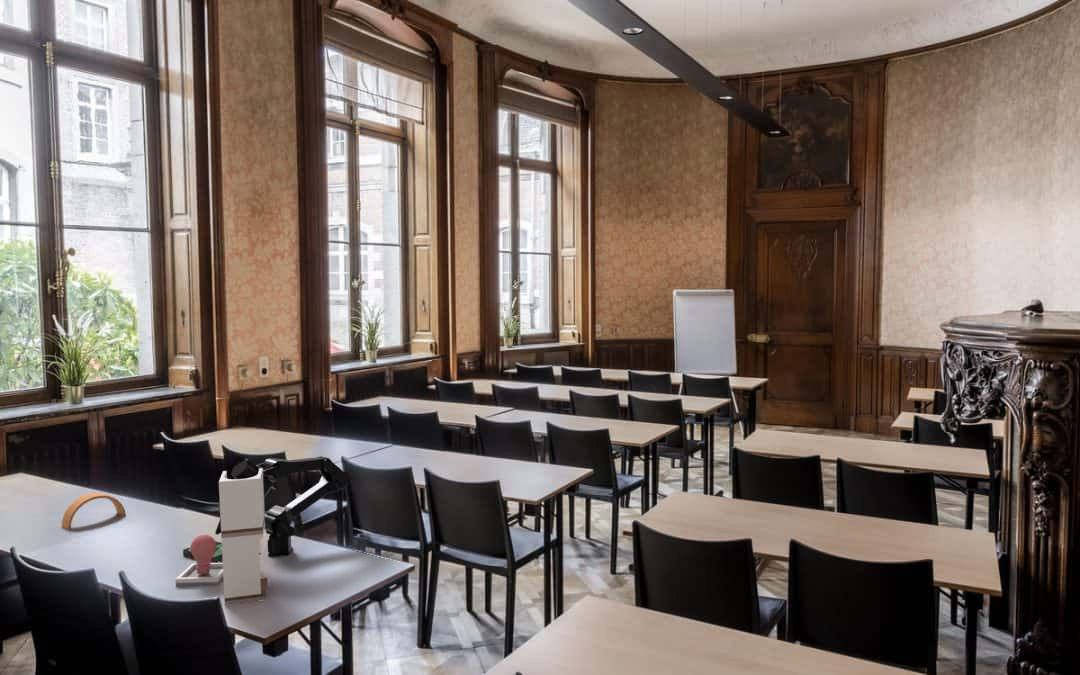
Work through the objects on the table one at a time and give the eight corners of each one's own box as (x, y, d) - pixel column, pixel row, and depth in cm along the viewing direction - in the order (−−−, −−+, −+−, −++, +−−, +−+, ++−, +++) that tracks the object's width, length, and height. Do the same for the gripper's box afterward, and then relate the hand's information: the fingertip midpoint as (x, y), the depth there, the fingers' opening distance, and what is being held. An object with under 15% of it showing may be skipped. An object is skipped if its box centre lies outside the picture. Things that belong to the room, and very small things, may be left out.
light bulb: (222, 570, 236) (220, 532, 235) (208, 579, 229) (206, 540, 228) (201, 568, 237) (199, 530, 236) (186, 578, 230) (184, 539, 229)
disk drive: (182, 558, 250) (214, 565, 243) (182, 549, 250) (213, 556, 243) (209, 547, 259) (240, 554, 253) (208, 539, 259) (240, 546, 252)
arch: (126, 515, 292) (124, 490, 291) (68, 530, 277) (66, 503, 276) (119, 512, 296) (117, 487, 295) (61, 526, 280) (59, 500, 279)
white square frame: (232, 569, 239) (231, 562, 239) (217, 585, 227) (216, 578, 227) (192, 570, 238) (192, 563, 238) (175, 586, 227) (175, 578, 226)
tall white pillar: (265, 600, 216) (260, 478, 213) (224, 605, 213) (218, 481, 210) (267, 584, 227) (262, 468, 224) (228, 589, 224) (223, 471, 221)
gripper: (222, 475, 245) (190, 517, 238) (253, 485, 233) (220, 530, 226) (246, 493, 252) (215, 535, 245) (278, 504, 240) (246, 549, 233)
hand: (223, 537), depth 237 cm, fingers open, 9 cm apart
